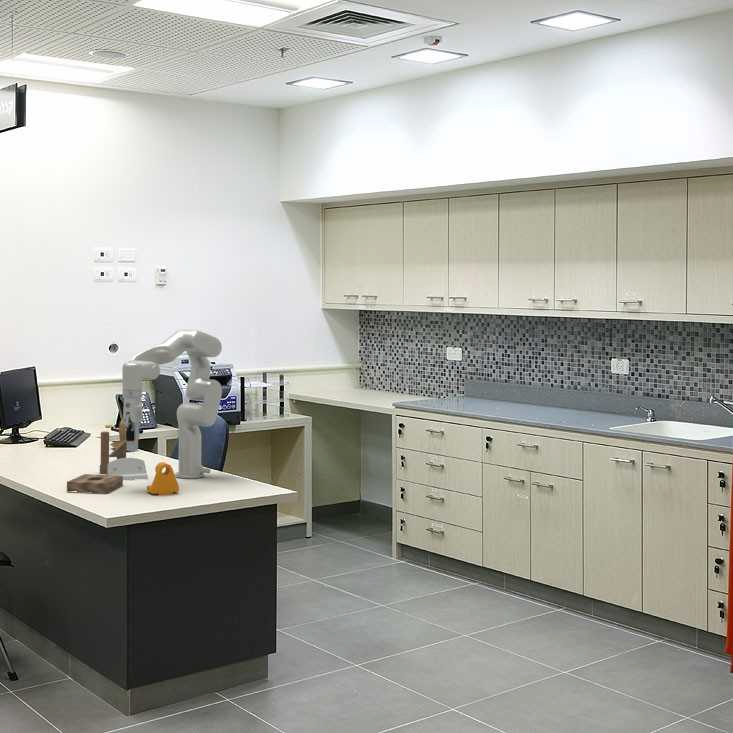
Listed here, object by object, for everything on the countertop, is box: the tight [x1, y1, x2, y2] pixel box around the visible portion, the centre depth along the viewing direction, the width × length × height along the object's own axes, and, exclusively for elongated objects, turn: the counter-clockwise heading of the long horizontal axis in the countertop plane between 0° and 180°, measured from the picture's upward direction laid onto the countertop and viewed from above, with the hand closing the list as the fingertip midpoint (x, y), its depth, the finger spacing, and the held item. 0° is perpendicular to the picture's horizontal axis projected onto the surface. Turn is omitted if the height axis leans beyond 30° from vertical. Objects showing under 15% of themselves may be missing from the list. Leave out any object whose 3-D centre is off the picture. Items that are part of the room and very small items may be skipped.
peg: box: [125, 421, 140, 452], centre depth 402 cm, size 4×4×14 cm
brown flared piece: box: [109, 419, 128, 452], centre depth 504 cm, size 15×12×15 cm
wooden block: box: [99, 430, 127, 475], centre depth 438 cm, size 4×11×18 cm, turn 112°
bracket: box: [146, 462, 180, 496], centre depth 397 cm, size 11×7×12 cm, turn 121°
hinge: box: [106, 457, 149, 481], centre depth 425 cm, size 17×5×10 cm, turn 118°
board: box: [66, 473, 124, 495], centre depth 402 cm, size 16×18×4 cm
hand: (132, 439), depth 402 cm, fingers closed on peg, 4 cm apart
